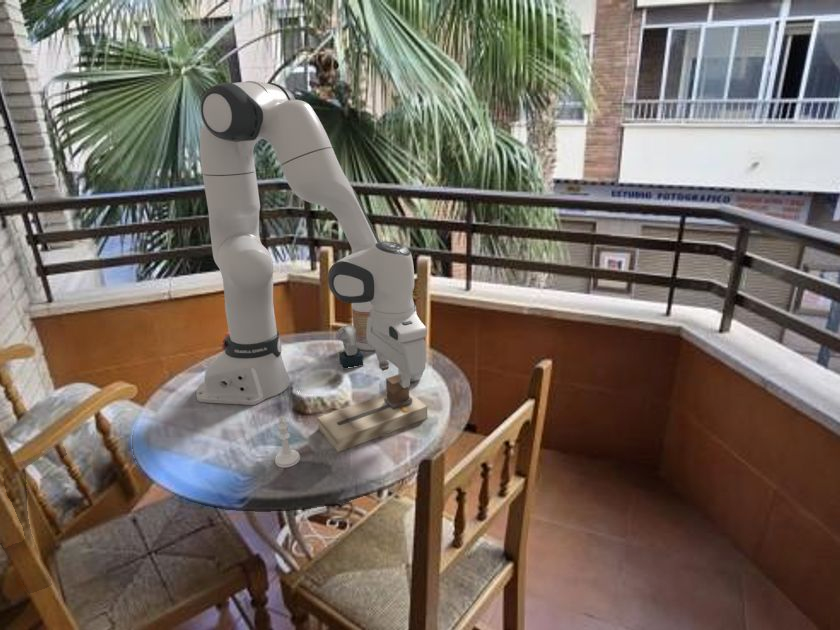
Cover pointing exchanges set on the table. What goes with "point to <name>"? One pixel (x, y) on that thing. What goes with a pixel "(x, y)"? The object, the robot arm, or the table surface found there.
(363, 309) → the fruit juice
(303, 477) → the table surface
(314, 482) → the table surface
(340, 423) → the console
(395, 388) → the slider
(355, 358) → the watch
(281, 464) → the chess piece
